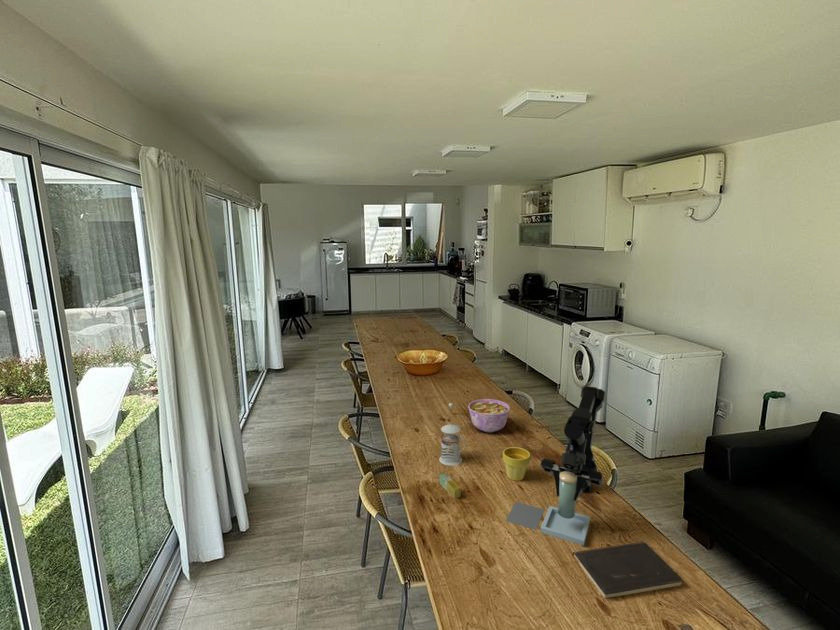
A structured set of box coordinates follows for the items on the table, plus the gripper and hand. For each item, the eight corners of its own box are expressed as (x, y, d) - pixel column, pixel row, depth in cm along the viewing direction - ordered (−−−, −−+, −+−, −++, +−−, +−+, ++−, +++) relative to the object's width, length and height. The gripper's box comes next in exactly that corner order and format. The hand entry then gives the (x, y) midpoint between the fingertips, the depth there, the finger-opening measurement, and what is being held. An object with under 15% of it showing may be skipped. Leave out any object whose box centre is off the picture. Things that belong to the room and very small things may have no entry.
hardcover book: (682, 588, 117) (683, 580, 117) (604, 601, 113) (605, 593, 113) (642, 547, 133) (643, 540, 132) (572, 557, 128) (572, 550, 128)
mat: (515, 502, 154) (515, 501, 154) (544, 510, 150) (544, 509, 150) (505, 521, 144) (505, 520, 144) (535, 531, 139) (535, 529, 139)
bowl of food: (465, 435, 207) (465, 412, 205) (470, 418, 226) (470, 397, 224) (508, 440, 202) (509, 416, 200) (510, 422, 221) (510, 400, 219)
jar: (556, 508, 143) (557, 471, 140) (572, 508, 142) (574, 471, 140) (560, 518, 138) (562, 480, 135) (577, 519, 137) (579, 480, 135)
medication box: (438, 483, 167) (438, 473, 167) (444, 481, 169) (444, 471, 168) (455, 499, 157) (455, 489, 156) (461, 497, 158) (461, 487, 157)
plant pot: (529, 471, 175) (530, 448, 173) (528, 485, 165) (529, 461, 163) (503, 467, 178) (504, 445, 176) (501, 481, 168) (501, 457, 166)
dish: (549, 511, 149) (549, 505, 149) (589, 522, 143) (590, 516, 143) (540, 533, 138) (540, 527, 138) (583, 546, 132) (584, 540, 132)
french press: (445, 452, 191) (445, 397, 187) (470, 458, 185) (470, 402, 181) (434, 461, 183) (434, 405, 179) (459, 469, 177) (460, 410, 173)
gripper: (543, 435, 144) (532, 482, 137) (604, 448, 135) (595, 499, 127) (548, 447, 152) (538, 492, 145) (606, 460, 143) (598, 509, 135)
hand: (566, 498), depth 138 cm, fingers closed on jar, 5 cm apart
